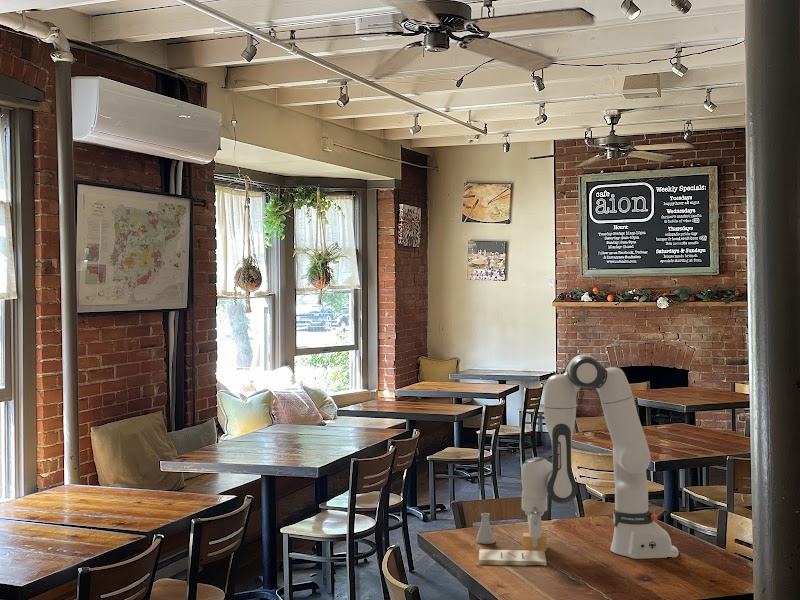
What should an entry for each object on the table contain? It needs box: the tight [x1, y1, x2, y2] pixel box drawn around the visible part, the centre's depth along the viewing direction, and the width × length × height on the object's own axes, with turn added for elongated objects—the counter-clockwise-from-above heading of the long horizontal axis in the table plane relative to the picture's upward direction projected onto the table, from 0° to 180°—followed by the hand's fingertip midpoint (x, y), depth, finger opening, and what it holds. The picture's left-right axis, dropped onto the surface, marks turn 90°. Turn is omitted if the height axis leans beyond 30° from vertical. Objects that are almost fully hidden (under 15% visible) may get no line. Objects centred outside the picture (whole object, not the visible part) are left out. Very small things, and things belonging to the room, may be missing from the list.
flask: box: [475, 512, 496, 545], centre depth 333 cm, size 7×7×10 cm
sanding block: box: [522, 532, 547, 552], centre depth 323 cm, size 8×4×5 cm, turn 83°
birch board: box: [478, 548, 548, 567], centre depth 311 cm, size 22×12×2 cm, turn 84°
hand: (534, 544), depth 323 cm, fingers closed on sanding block, 4 cm apart
